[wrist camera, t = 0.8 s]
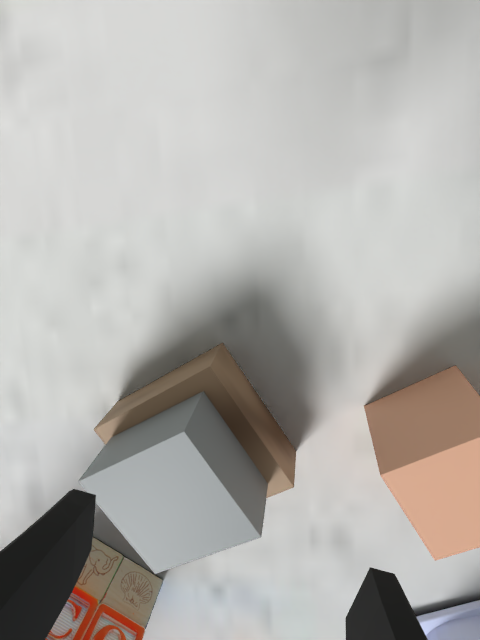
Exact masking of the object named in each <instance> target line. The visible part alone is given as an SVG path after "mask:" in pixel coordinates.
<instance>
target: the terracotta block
mask: <svg viewBox="0 0 480 640" xmlns="http://www.w3.org/2000/svg"><path fill="white" fill-rule="evenodd" d="M364 408H365V412H366V416H367V421H368V425H369V429H370V433H371V437H372V442H373V446H374V450H375V454H376V459H377V463H378V467H379V471H380V475H381V477H382V478H383V480H384V482H385V483H386V485H387V486H388V488H389V489H390V491H391V493H392V494H393V496H394V497H395V499H396V500H397V502H398V503H399V505H400V507H401V508H402V510H403V511H404V513H405V514H406V516H407V518H408V519H409V521H410V522H411V524H412V525H413V527H414V528H415V530H416V532H417V533H418V535H419V536H420V538H421V539H422V541H423V543H424V544H425V546H426V547H427V549H428V550H429V552H430V553H431V555H432V557H433V558H434V560H439V559H442V558H445V557H449V556H452V555H455V554H459V553H462V552H465V551H469V550H472V549H475V548H479V547H480V396H479V395H478V393H477V392H476V391H475V389H474V388H473V387H472V386H471V384H470V383H469V382H468V380H467V379H466V378H465V377H464V375H463V374H462V373H461V372H460V370H459V369H458V368H457V366H456V365H455V366H453V367H451V368H448V369H446V370H444V371H442V372H439V373H437V374H435V375H433V376H430V377H428V378H426V379H424V380H421V381H419V382H417V383H415V384H412V385H410V386H408V387H406V388H403V389H401V390H399V391H397V392H394V393H392V394H390V395H388V396H385V397H383V398H381V399H379V400H376V401H374V402H372V403H370V404H367V405H365V406H364Z"/></svg>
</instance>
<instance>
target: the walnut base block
mask: <svg viewBox="0 0 480 640" xmlns="http://www.w3.org/2000/svg"><path fill="white" fill-rule="evenodd" d="M202 391H204V392H205V394H206V395H207V397H208V398H209V400H210V401H211V402H212V404H213V405H214V407H215V408H216V410H217V411H218V412H219V414H220V415H221V417H222V418H223V420H224V421H225V422H226V424H227V425H228V427H229V428H230V430H231V431H232V433H233V434H234V435H235V437H236V438H237V440H238V441H239V443H240V444H241V445H242V447H243V448H244V450H245V451H246V453H247V454H248V455H249V457H250V458H251V460H252V461H253V463H254V464H255V466H256V467H257V468H258V470H259V471H260V473H261V474H262V476H263V477H264V479H265V480H266V482H267V483H268V489H267V496H266V498H268V497H270V496H273V495H276V494H278V493H281V492H283V491H286V490H288V489H291V488H293V487H294V478H295V460H296V450H295V449H294V448H293V446H292V445H291V443H290V442H289V440H288V439H287V437H286V436H285V434H284V433H283V431H282V430H281V428H280V427H279V425H278V424H277V422H276V421H275V419H274V418H273V417H272V415H271V414H270V412H269V411H268V409H267V408H266V406H265V405H264V403H263V402H262V400H261V399H260V397H259V396H258V394H257V393H256V391H255V390H254V388H253V387H252V386H251V384H250V383H249V381H248V380H247V378H246V377H245V375H244V374H243V372H242V371H241V369H240V368H239V366H238V365H237V363H236V362H235V360H234V359H233V357H232V356H231V354H230V353H229V352H228V350H227V349H226V347H225V346H224V344H223V343H221V344H220V345H218V346H216V347H214V348H212V349H211V350H209V351H207V352H205V353H204V354H202V355H200V356H198V357H196V358H195V359H193V360H191V361H189V362H187V363H186V364H184V365H182V366H180V367H179V368H177V369H175V370H173V371H171V372H170V373H168V374H166V375H164V376H162V377H161V378H159V379H157V380H155V381H153V382H152V383H150V384H148V385H146V386H145V387H143V388H141V389H139V390H137V391H136V392H134V393H132V394H130V395H128V396H127V397H125V398H123V399H121V400H120V401H118V402H117V403H116V404H115V405H114V406H113V408H112V409H111V410H110V411H109V412H108V413H107V414H106V416H105V417H104V418H103V419H102V420H101V421H100V423H99V424H98V425H97V426H96V427H95V428H94V431H95V432H96V433H97V434H98V436H99V437H100V438H101V439H102V441H103V442H104V443H105V445H106V444H107V442H108V441H109V440H110V438H111V437H113V436H115V435H117V434H119V433H121V432H123V431H125V430H127V429H129V428H131V427H133V426H135V425H137V424H139V423H141V422H143V421H145V420H147V419H149V418H151V417H153V416H155V415H157V414H159V413H161V412H163V411H165V410H167V409H169V408H171V407H173V406H175V405H177V404H179V403H181V402H183V401H185V400H187V399H189V398H190V397H192V396H194V395H196V394H198V393H200V392H202Z"/></svg>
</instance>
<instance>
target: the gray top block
mask: <svg viewBox="0 0 480 640" xmlns="http://www.w3.org/2000/svg"><path fill="white" fill-rule="evenodd" d="M78 482H79V483H80V484H81V486H82V487H83V488H84V489H85V490H86V492H87V493H91V494H94V495H96V502H95V503H96V504H97V505H98V506H99V507H100V509H101V510H102V511H103V512H104V513H105V515H106V516H107V517H108V518H109V519H110V521H111V522H112V523H113V524H114V525H115V527H116V528H117V529H118V530H119V531H120V533H121V534H122V535H123V536H124V537H125V539H126V540H127V541H128V542H129V543H130V545H131V546H132V547H133V548H134V549H135V551H136V552H137V553H138V554H139V555H140V557H141V558H142V559H143V560H144V561H145V563H146V564H147V565H148V566H149V568H150V569H151V570H152V571H153V572H154V574H156V573H159V572H162V571H165V570H168V569H171V568H174V567H177V566H180V565H182V564H185V563H188V562H191V561H194V560H197V559H200V558H203V557H206V556H208V555H211V554H214V553H217V552H220V551H223V550H226V549H229V548H232V547H234V546H237V545H240V544H243V543H246V542H249V541H252V540H255V539H258V538H260V537H261V535H262V527H263V519H264V512H265V504H266V496H267V489H268V483H267V482H266V480H265V479H264V477H263V476H262V474H261V473H260V471H259V470H258V468H257V467H256V466H255V464H254V463H253V461H252V460H251V458H250V457H249V455H248V454H247V453H246V451H245V450H244V448H243V447H242V445H241V444H240V443H239V441H238V440H237V438H236V437H235V435H234V434H233V433H232V431H231V430H230V428H229V427H228V425H227V424H226V422H225V421H224V420H223V418H222V417H221V415H220V414H219V412H218V411H217V410H216V408H215V407H214V405H213V404H212V402H211V401H210V400H209V398H208V397H207V395H206V394H205V392H204V391H202V392H200V393H198V394H196V395H194V396H192V397H190V398H189V399H187V400H185V401H183V402H181V403H179V404H177V405H175V406H173V407H171V408H169V409H167V410H165V411H163V412H161V413H159V414H157V415H155V416H153V417H151V418H149V419H147V420H145V421H143V422H141V423H139V424H137V425H135V426H133V427H131V428H129V429H127V430H125V431H123V432H121V433H119V434H117V435H115V436H113V437H111V438H110V440H109V441H108V442H107V444H106V445H105V446H104V448H103V449H102V450H101V452H100V453H99V454H98V456H97V457H96V458H95V460H94V461H93V462H92V464H91V465H90V466H89V468H88V469H87V470H86V472H85V473H84V474H83V476H82V477H81V479H80V480H79V481H78Z"/></svg>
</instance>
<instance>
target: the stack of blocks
mask: <svg viewBox="0 0 480 640" xmlns="http://www.w3.org/2000/svg"><path fill="white" fill-rule="evenodd" d="M162 583H163V580H161V579H160V578H158V577H157V576H155V575H153V574H152V573H150V572H149V571H147V570H146V569H144V568H142V567H141V566H139V565H137V564H136V563H134V562H132V561H131V560H129V559H127V558H125V557H123V556H122V554H120V553H118V552H117V551H115V550H113V549H112V548H110V547H108V546H107V545H105V544H103V543H102V542H100V541H98V540H97V539H95V538H92V549H91V552H90V554H89V556H88V558H87V561H86V563H85V565H84V567H83V570H82V572H81V574H80V576H79V578H78V581H77V583H76V585H75V587H74V589H73V591H72V593H71V595H70V597H69V599H68V600H67V602H66V604H65V606H64V608H63V609H62V611H61V613H60V615H59V616H58V618H57V620H56V622H55V623H54V625H53V627H52V629H51V630H50V632H49V634H48V636H47V637H46V639H45V640H142V638H143V636H144V633H145V629H146V627H147V624H148V621H149V619H150V616H151V613H152V610H153V608H154V605H155V602H156V599H157V596H158V594H159V591H160V589H161V586H162Z"/></svg>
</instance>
